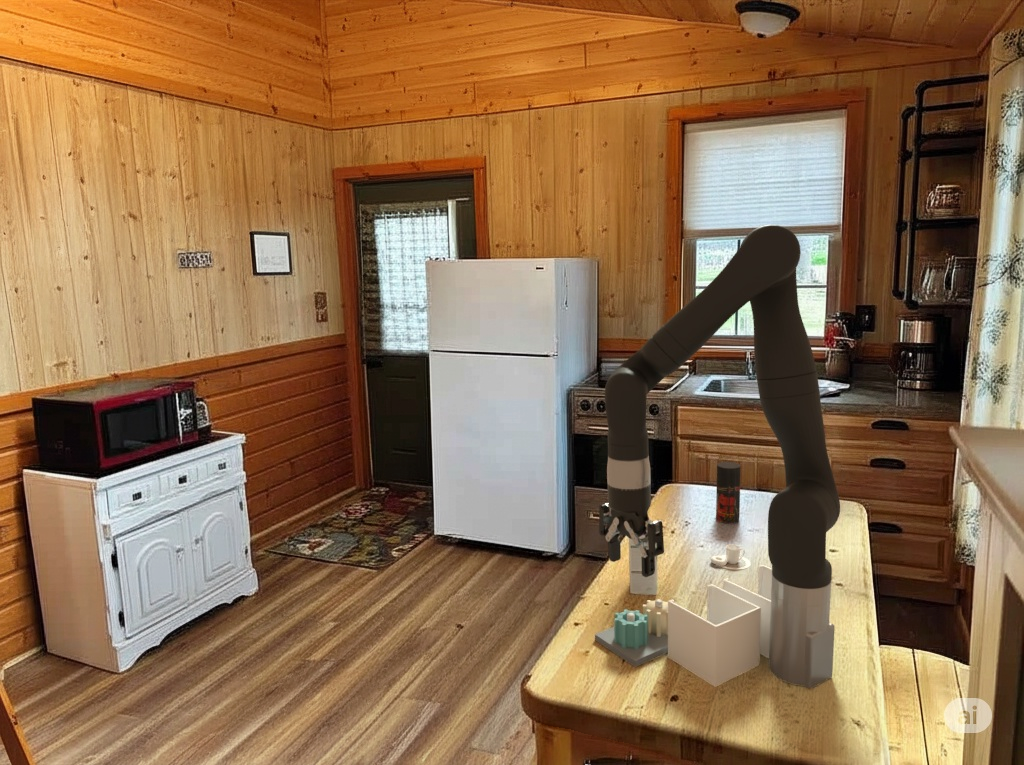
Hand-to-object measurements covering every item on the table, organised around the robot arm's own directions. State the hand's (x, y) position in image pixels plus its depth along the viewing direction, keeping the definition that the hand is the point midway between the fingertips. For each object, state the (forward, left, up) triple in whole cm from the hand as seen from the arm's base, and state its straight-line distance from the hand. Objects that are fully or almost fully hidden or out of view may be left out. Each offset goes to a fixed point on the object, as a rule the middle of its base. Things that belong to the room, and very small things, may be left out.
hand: (630, 567), depth 130 cm
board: (0, -3, -16) cm, 16 cm away
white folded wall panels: (-12, -16, -16) cm, 25 cm away
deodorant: (+32, -63, -16) cm, 72 cm away
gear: (0, 0, -14) cm, 14 cm away
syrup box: (+16, -18, -16) cm, 29 cm away
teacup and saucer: (+17, -43, -16) cm, 49 cm away
